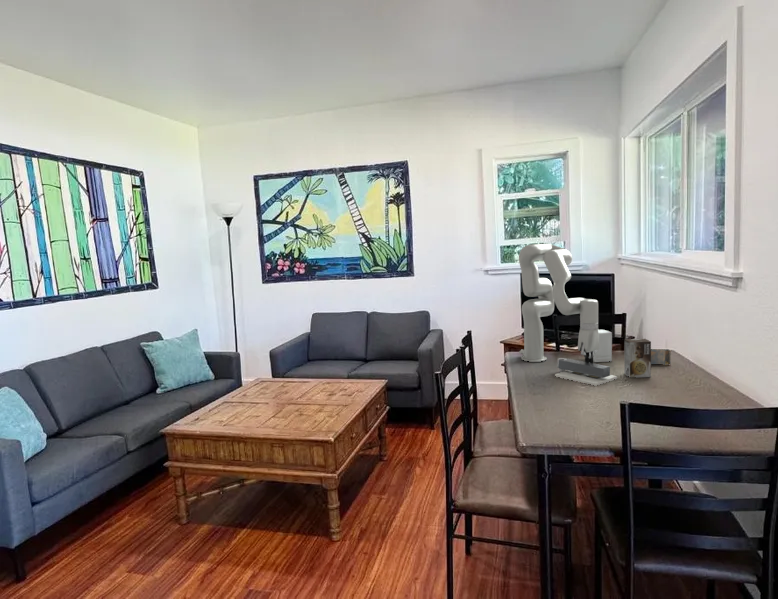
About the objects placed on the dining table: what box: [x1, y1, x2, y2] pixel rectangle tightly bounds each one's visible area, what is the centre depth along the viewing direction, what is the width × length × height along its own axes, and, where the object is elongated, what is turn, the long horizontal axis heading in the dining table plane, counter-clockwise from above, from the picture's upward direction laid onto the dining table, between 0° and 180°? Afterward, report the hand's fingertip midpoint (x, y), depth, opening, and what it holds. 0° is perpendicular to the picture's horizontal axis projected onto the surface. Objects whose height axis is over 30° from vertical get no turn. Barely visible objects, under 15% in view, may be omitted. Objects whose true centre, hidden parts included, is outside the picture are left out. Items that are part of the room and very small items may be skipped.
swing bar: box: [557, 357, 611, 378], centre depth 212 cm, size 24×5×4 cm, turn 34°
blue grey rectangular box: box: [651, 348, 672, 366], centre depth 227 cm, size 11×3×10 cm, turn 75°
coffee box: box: [623, 338, 652, 378], centre depth 209 cm, size 9×6×16 cm
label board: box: [554, 368, 618, 387], centre depth 212 cm, size 23×16×2 cm
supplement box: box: [593, 329, 613, 363], centre depth 240 cm, size 9×9×15 cm
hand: (589, 365), depth 217 cm, fingers closed
